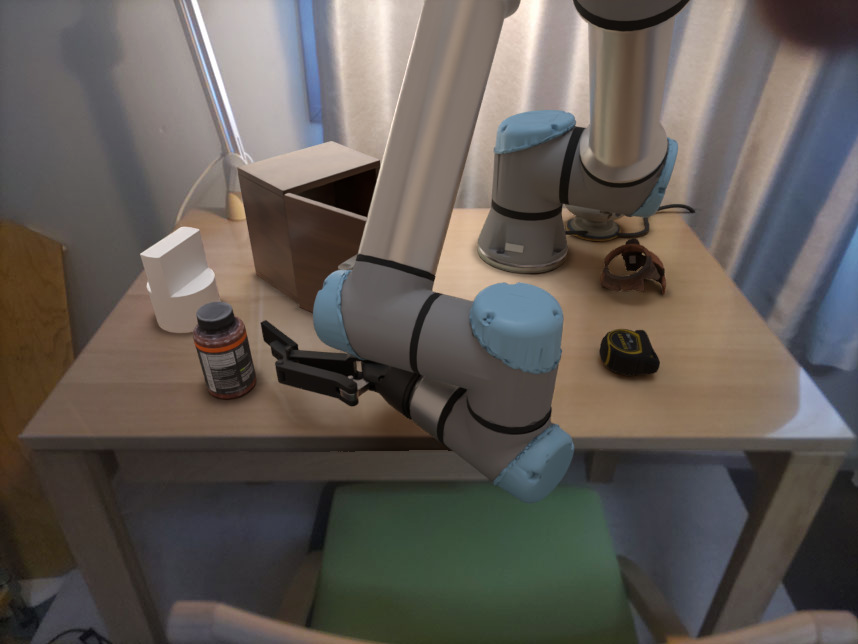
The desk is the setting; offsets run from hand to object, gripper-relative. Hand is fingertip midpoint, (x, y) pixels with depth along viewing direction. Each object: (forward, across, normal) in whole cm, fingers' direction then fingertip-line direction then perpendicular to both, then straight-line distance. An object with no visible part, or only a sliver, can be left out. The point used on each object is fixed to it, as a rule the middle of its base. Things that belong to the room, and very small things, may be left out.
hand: (311, 308), depth 75 cm
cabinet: (+19, +14, -8) cm, 25 cm away
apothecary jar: (-4, +59, -8) cm, 60 cm away
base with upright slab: (+21, -7, -8) cm, 24 cm away
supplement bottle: (+3, -11, -8) cm, 14 cm away
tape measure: (-29, +29, -8) cm, 42 cm away
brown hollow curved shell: (-19, +47, -8) cm, 51 cm away
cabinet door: (+3, +5, -8) cm, 10 cm away
